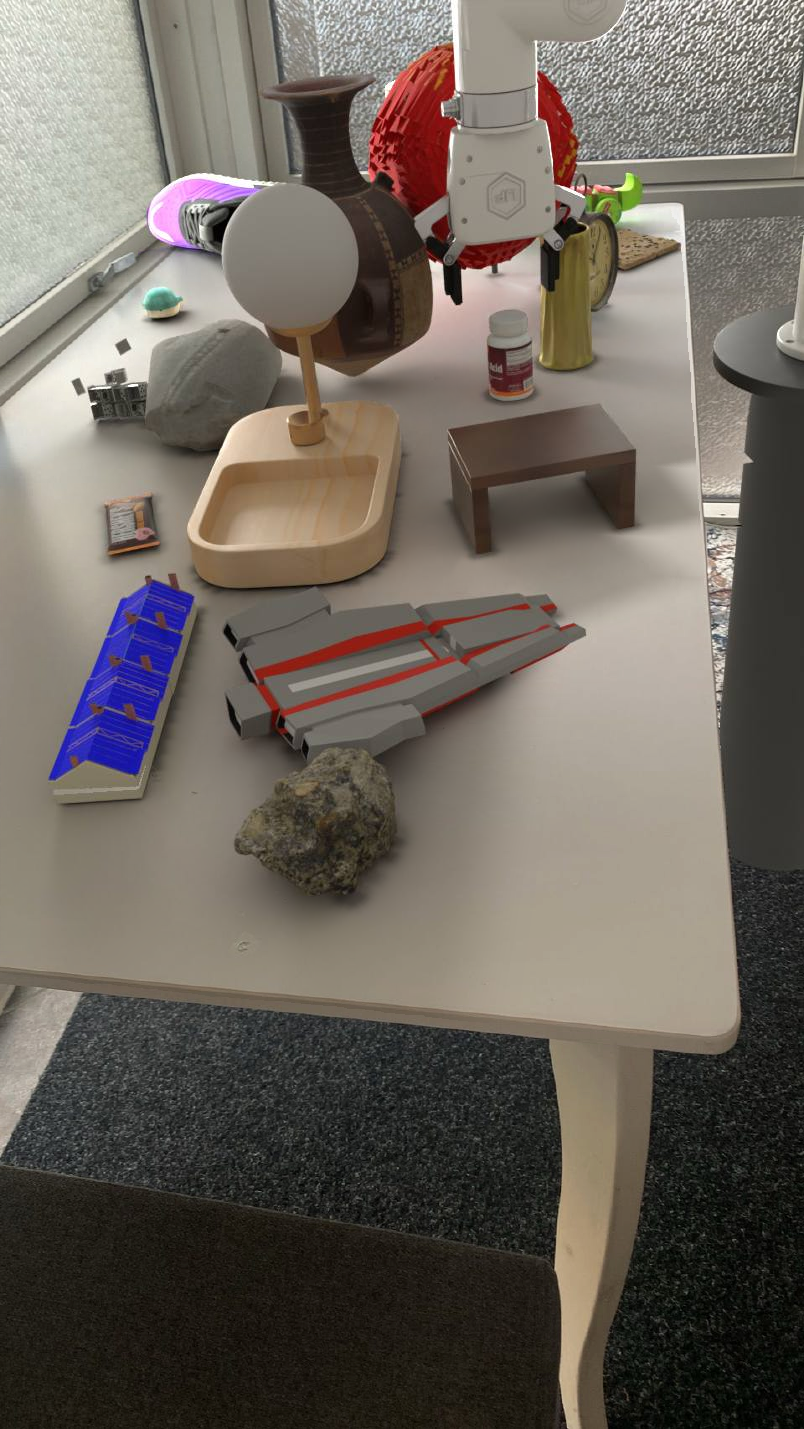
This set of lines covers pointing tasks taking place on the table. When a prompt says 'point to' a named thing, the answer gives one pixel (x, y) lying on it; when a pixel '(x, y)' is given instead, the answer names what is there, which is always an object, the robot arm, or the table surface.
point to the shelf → (540, 462)
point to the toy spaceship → (376, 664)
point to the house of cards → (116, 393)
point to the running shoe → (199, 209)
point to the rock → (324, 822)
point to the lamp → (296, 417)
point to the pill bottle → (510, 356)
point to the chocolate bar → (130, 524)
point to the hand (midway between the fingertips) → (502, 294)
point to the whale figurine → (161, 303)
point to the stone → (209, 382)
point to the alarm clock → (600, 253)
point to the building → (127, 695)
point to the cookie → (641, 247)
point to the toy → (419, 145)
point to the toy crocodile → (613, 197)
